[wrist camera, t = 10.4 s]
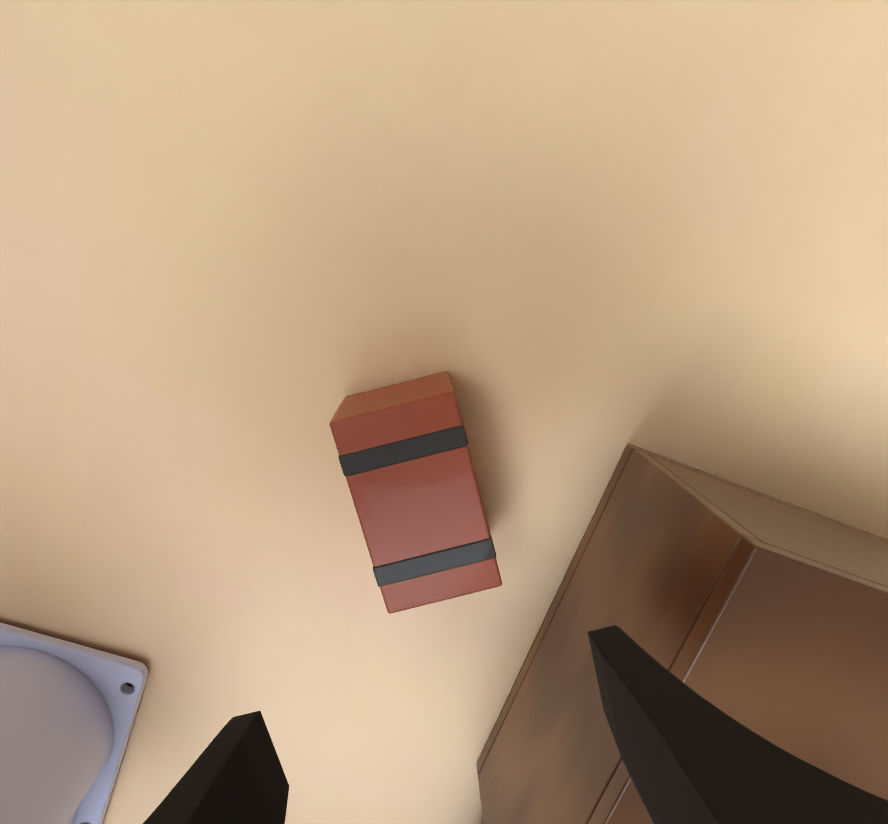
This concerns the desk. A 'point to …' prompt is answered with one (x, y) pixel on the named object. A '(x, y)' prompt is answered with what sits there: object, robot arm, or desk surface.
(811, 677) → the cabinet
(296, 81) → the desk surface
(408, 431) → the block
